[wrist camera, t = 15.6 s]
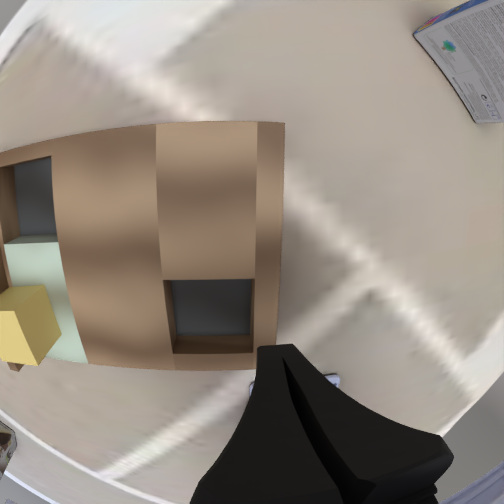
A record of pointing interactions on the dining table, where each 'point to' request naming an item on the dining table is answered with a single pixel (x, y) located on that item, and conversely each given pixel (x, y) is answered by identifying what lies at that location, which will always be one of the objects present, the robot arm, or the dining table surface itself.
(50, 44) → the dining table surface
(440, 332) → the dining table surface
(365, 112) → the dining table surface
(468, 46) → the ink cartridge box
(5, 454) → the coffee box
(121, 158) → the board
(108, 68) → the dining table surface
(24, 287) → the cube
